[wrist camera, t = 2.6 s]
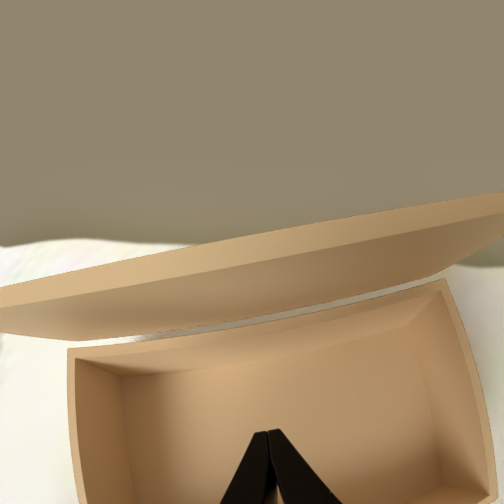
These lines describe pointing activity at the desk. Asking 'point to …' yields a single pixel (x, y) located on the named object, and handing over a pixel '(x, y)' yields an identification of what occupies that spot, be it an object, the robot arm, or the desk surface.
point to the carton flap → (253, 273)
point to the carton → (290, 406)
